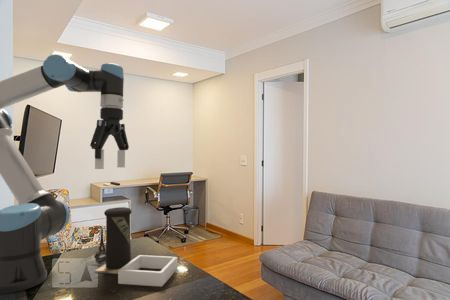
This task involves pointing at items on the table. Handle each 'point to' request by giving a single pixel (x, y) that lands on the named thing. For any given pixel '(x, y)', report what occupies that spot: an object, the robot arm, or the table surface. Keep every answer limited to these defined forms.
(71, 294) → the table surface
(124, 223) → the container
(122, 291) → the table surface
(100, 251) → the eiffel tower figurine
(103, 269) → the cork mat
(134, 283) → the frame
